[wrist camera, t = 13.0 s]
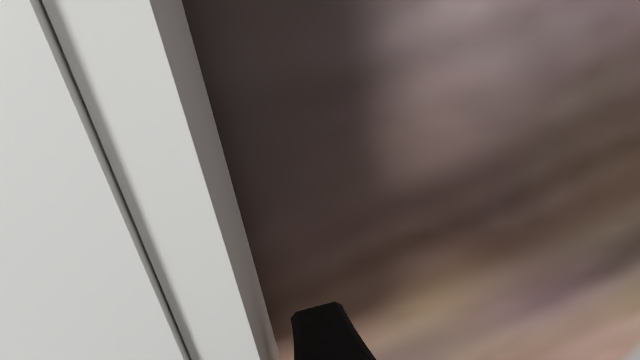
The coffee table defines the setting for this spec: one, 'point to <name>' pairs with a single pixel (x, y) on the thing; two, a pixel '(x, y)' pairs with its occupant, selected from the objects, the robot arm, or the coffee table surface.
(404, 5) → the coffee table surface
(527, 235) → the coffee table surface
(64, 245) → the box
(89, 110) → the player tray
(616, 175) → the coffee table surface
